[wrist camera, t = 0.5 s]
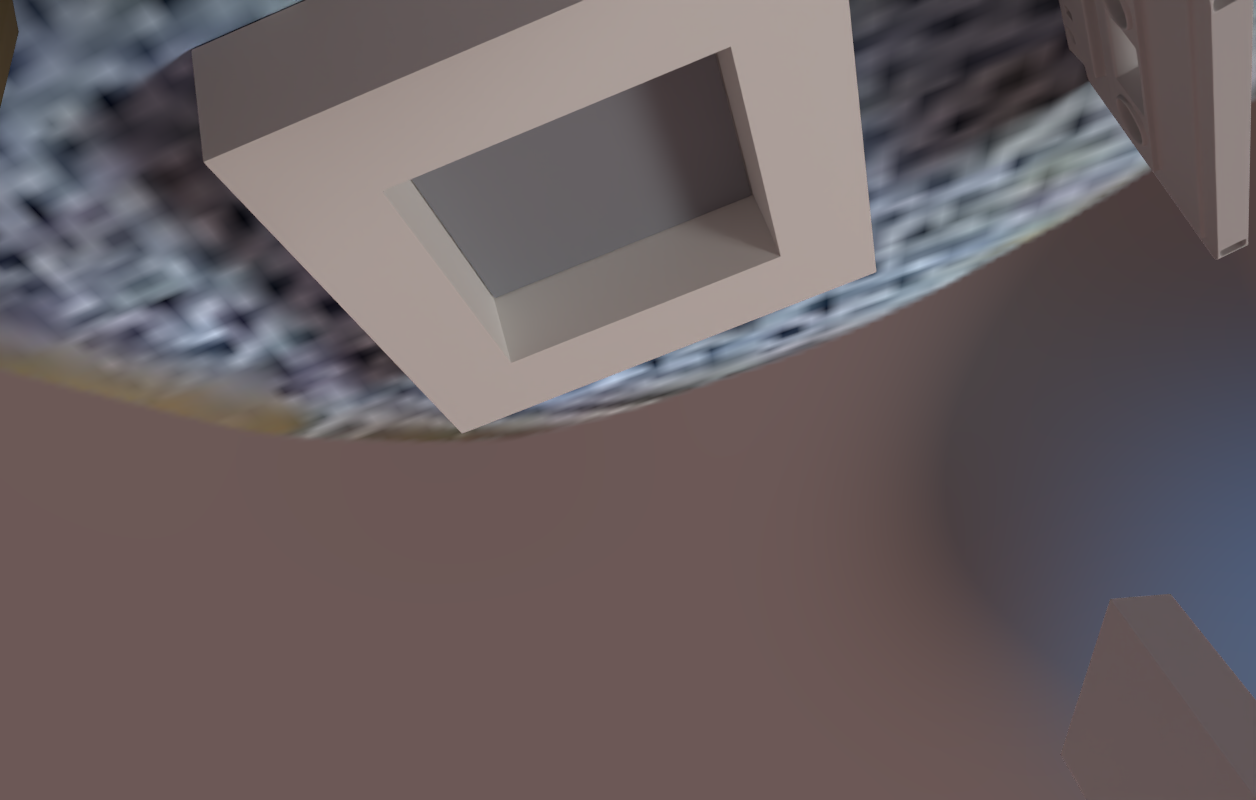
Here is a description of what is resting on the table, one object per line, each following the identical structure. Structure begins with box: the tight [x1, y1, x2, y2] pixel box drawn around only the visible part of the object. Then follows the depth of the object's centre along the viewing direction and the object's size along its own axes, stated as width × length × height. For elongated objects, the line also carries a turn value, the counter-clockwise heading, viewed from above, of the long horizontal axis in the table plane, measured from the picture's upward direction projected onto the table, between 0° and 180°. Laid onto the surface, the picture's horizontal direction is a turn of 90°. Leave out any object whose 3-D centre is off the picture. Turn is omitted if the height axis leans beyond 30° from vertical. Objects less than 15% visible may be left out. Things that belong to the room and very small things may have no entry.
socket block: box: [191, 0, 876, 433], centre depth 29 cm, size 14×14×4 cm
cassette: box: [1059, 0, 1253, 259], centre depth 27 cm, size 12×2×8 cm, turn 28°
